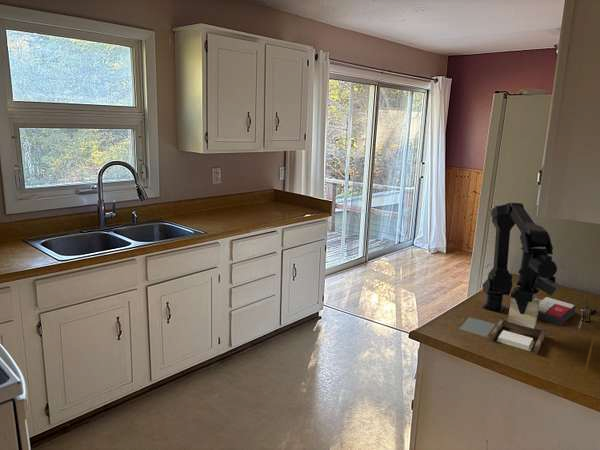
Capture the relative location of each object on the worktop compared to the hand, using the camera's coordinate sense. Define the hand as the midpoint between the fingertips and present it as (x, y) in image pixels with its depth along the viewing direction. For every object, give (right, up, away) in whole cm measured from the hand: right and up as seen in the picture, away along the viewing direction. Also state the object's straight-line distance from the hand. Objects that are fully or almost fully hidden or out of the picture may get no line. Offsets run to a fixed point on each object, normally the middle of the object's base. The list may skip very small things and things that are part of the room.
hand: (523, 311), depth 152 cm
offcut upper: (-4, -9, -3) cm, 10 cm away
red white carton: (+20, -5, +20) cm, 29 cm away
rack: (-2, -9, 0) cm, 9 cm away
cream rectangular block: (0, -4, +1) cm, 4 cm away
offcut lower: (-4, -11, -2) cm, 12 cm away
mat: (-13, -7, +7) cm, 16 cm away
